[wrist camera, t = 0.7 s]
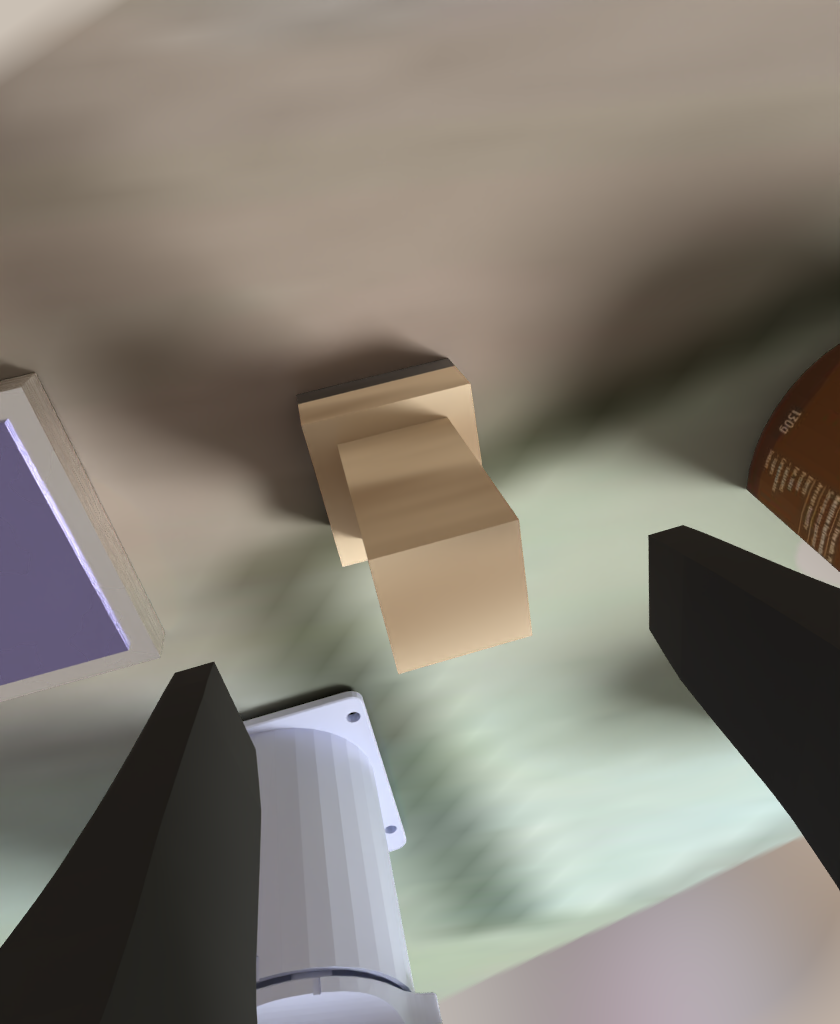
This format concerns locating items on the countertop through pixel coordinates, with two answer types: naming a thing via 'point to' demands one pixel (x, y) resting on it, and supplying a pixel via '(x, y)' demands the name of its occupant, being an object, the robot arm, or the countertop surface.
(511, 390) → the countertop surface
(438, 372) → the stamp
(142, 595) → the ink pad
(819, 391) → the food container
